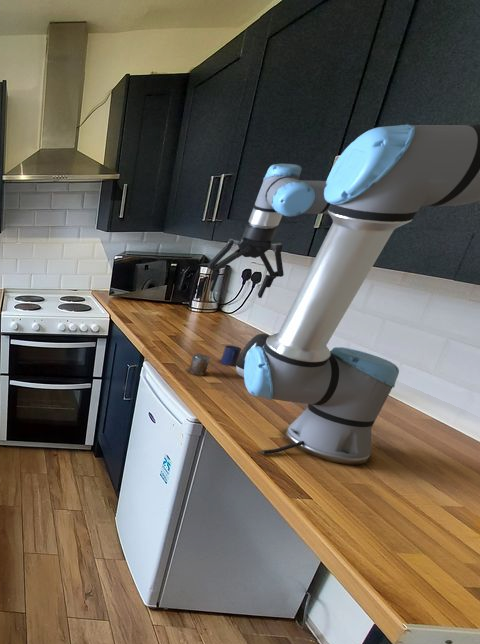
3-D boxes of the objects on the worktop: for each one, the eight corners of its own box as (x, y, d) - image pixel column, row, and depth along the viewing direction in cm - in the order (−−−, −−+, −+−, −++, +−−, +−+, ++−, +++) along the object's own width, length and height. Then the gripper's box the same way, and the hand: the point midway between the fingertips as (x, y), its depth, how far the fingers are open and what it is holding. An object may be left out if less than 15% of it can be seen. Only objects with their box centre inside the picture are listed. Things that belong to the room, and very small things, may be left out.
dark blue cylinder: (231, 366, 143) (237, 350, 141) (217, 362, 147) (222, 346, 145) (238, 364, 146) (244, 348, 143) (225, 360, 150) (229, 344, 147)
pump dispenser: (276, 384, 130) (293, 339, 123) (243, 382, 130) (259, 338, 123) (255, 372, 139) (271, 330, 133) (226, 371, 139) (239, 328, 133)
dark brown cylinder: (199, 376, 133) (204, 360, 131) (185, 371, 137) (190, 355, 135) (208, 374, 136) (213, 357, 133) (193, 369, 140) (198, 353, 137)
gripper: (311, 225, 114) (278, 294, 127) (213, 217, 123) (192, 283, 136) (317, 232, 109) (282, 303, 122) (214, 224, 117) (192, 291, 130)
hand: (234, 293), depth 129 cm, fingers open, 13 cm apart
